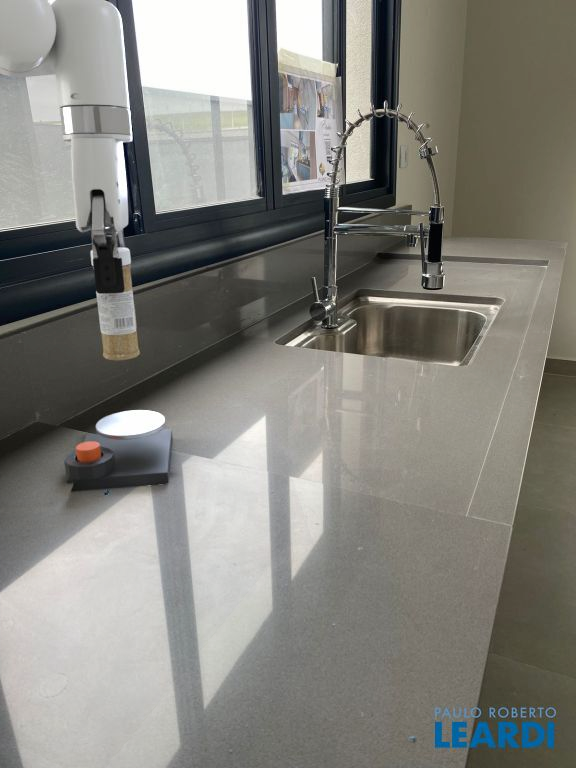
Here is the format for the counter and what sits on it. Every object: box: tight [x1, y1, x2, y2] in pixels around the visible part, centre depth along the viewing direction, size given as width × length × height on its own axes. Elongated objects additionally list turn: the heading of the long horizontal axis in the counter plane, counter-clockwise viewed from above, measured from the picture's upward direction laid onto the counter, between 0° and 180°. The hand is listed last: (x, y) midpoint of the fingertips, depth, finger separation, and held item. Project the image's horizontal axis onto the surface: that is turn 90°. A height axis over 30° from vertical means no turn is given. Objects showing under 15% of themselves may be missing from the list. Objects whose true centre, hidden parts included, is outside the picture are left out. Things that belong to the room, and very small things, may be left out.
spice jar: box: [90, 247, 140, 361], centre depth 74 cm, size 5×5×14 cm
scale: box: [63, 428, 174, 492], centre depth 80 cm, size 12×14×4 cm
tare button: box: [75, 441, 101, 462], centre depth 74 cm, size 3×3×2 cm
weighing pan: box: [95, 409, 166, 440], centre depth 81 cm, size 9×9×2 cm
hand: (113, 287), depth 74 cm, fingers closed on spice jar, 4 cm apart
